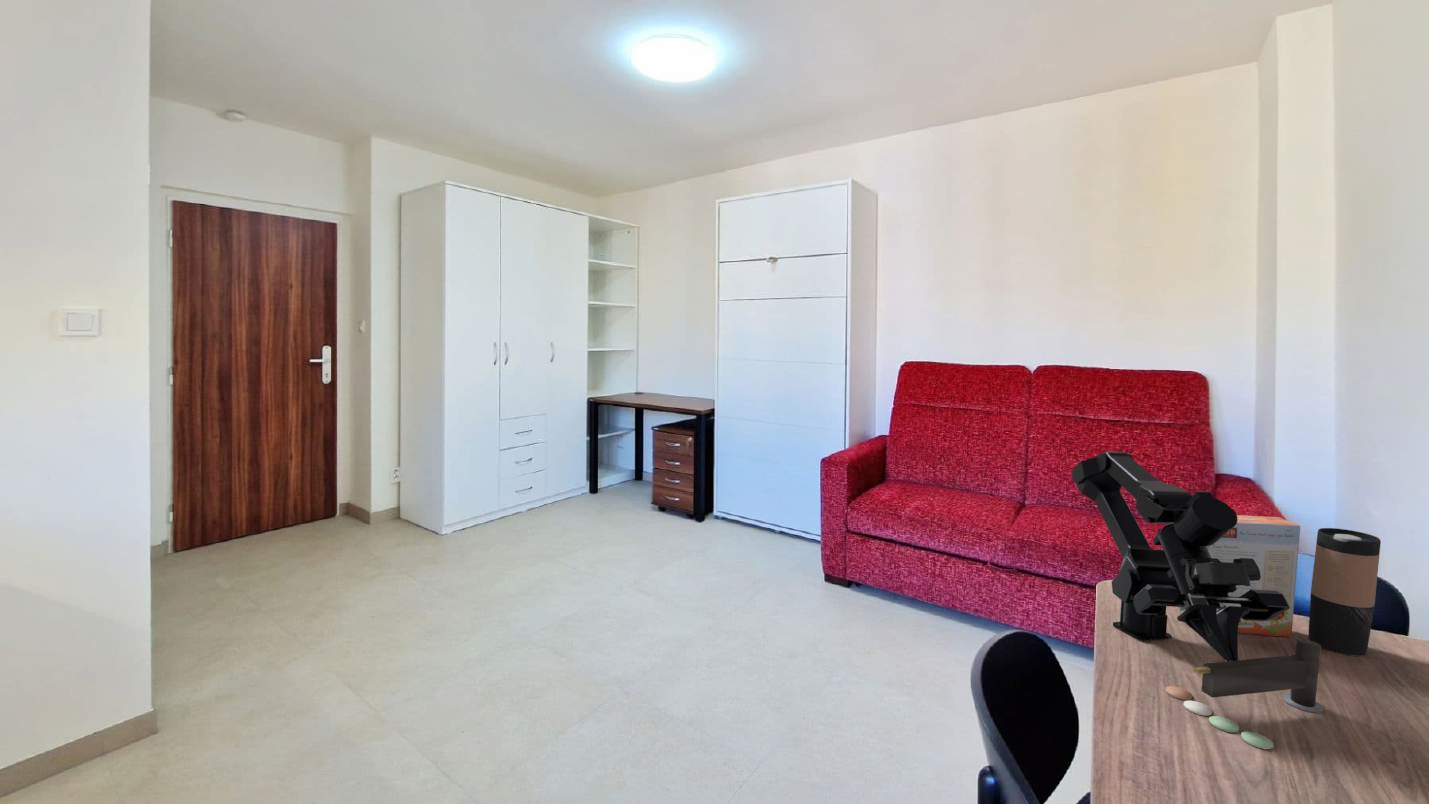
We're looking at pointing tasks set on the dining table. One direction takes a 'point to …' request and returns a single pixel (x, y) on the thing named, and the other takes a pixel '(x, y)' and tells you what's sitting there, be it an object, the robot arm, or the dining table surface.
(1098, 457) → the robot arm
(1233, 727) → the pebbles
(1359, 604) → the travel mug
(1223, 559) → the cracker box
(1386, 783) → the dining table surface
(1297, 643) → the hammer
